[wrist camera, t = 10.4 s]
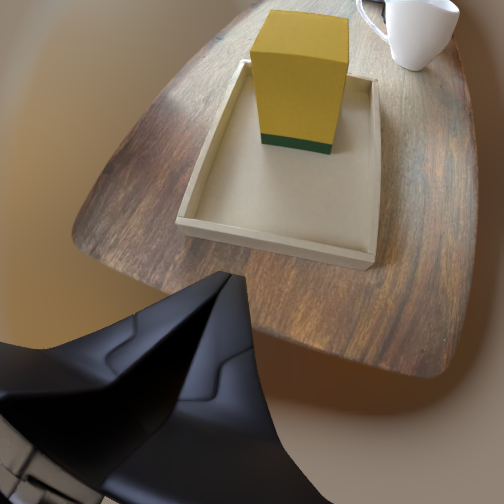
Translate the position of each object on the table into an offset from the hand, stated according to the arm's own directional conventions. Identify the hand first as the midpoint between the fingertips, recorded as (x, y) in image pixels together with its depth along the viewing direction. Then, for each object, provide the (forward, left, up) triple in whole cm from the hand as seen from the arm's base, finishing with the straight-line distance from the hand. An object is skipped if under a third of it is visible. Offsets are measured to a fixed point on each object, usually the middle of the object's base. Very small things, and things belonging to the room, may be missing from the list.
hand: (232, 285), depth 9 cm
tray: (+11, +8, -12) cm, 19 cm away
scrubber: (+14, +10, -11) cm, 21 cm away
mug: (+33, +11, -12) cm, 37 cm away
